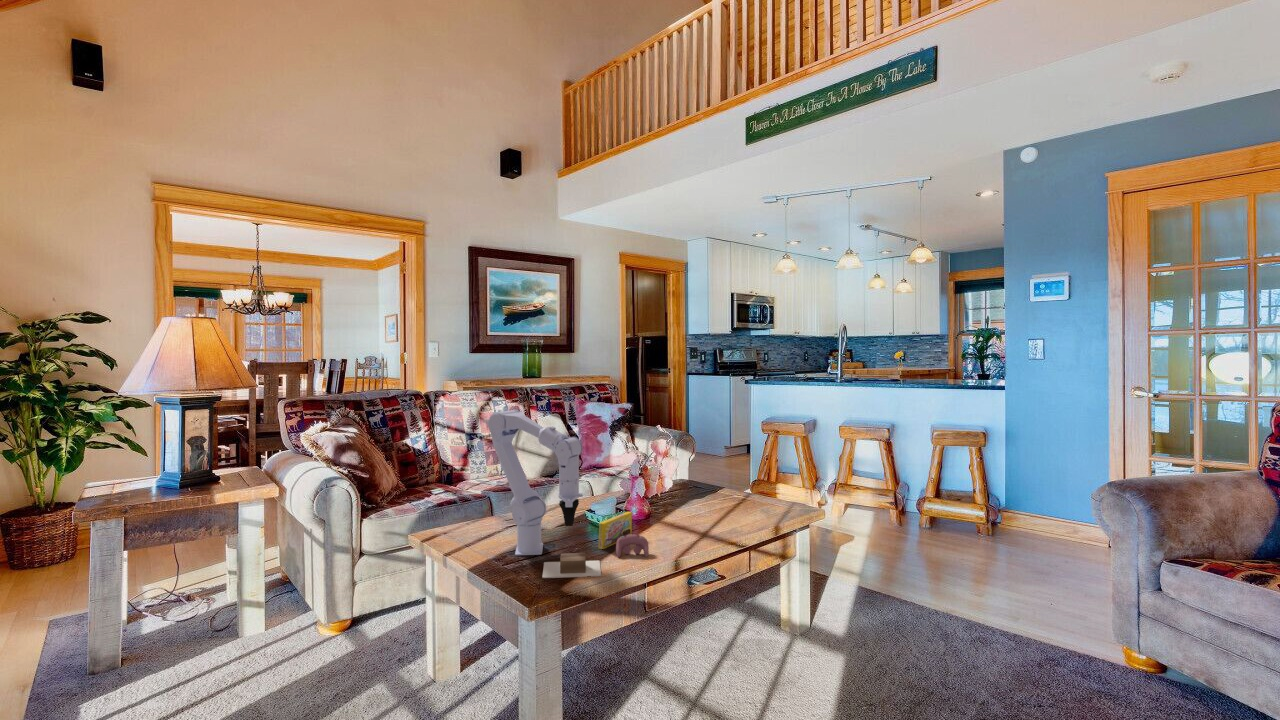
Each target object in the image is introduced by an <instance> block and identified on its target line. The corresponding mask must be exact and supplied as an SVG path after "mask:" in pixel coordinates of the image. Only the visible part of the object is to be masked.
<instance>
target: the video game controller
mask: <svg viewBox="0 0 1280 720" xmlns="http://www.w3.org/2000/svg"><path fill="white" fill-rule="evenodd" d="M631 545H632V546H633V545H634V548H633V552H634V554H636V555H640V553H641V552H642V551H643V553H644V554H643V555H644V556H645V558H648V557H649V553H650V552H649V551H650V549H649V543H648V539H647V538H646V537H644V536H643V535H640V534H639V535H638V534H634V533H633V534H632V533H631V535H625V536H621V537H620V538H619V539H618V540H617V543H616V544H615V552H616V557H617V558H620V557H621V556H622V555H621V554H622V551H623V553H624V555H629V554H630V553H631V550H632V548H631V547H630V546H631Z"/></svg>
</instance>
